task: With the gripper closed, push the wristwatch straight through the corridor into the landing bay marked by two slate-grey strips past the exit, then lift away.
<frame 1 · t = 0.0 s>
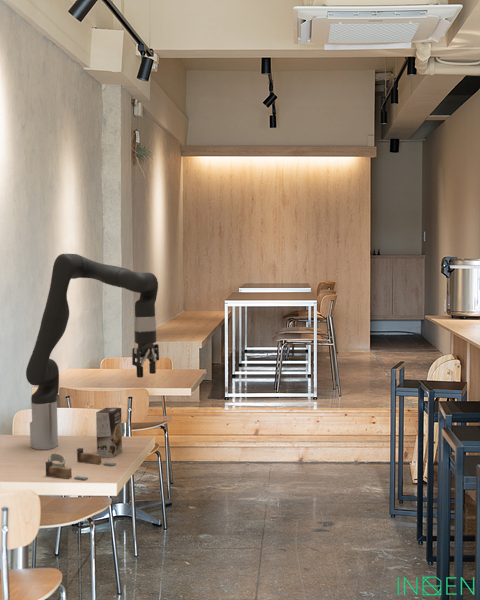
hand: (146, 375, 227), 29 cm above the table, fingers open, 8 cm apart
landing bay: (95, 471, 212), on the table
coffee box: (109, 454, 234), on the table
corridor: (74, 469, 216), on the table
wristwatch: (56, 468, 219), on the table
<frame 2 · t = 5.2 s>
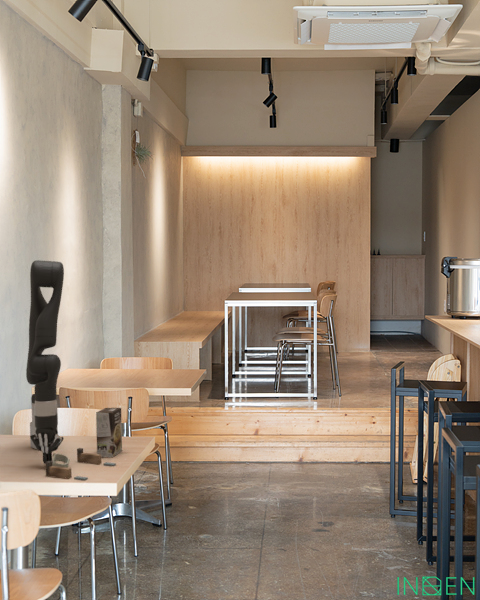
hand: (47, 463, 220), 1 cm above the table, fingers closed
wristwatch: (60, 468, 217), on the table, touching gripper
everything else where it was.
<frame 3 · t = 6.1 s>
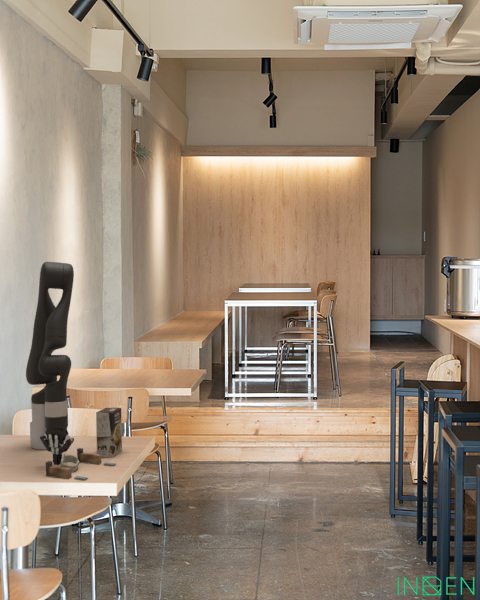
hand: (57, 464, 218), 1 cm above the table, fingers closed
wristwatch: (69, 470, 216), on the table, touching gripper
everything else where it was.
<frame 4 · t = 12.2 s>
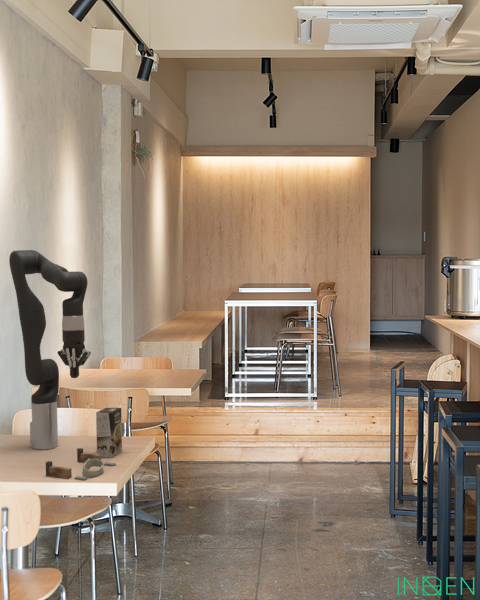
hand: (74, 377, 226), 29 cm above the table, fingers closed
wristwatch: (93, 474, 211), on the table
everything else where it was.
at the end: wristwatch inside the target area (1.8 cm from its centre), on the table; coffee box moved 0.2 cm from its start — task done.
